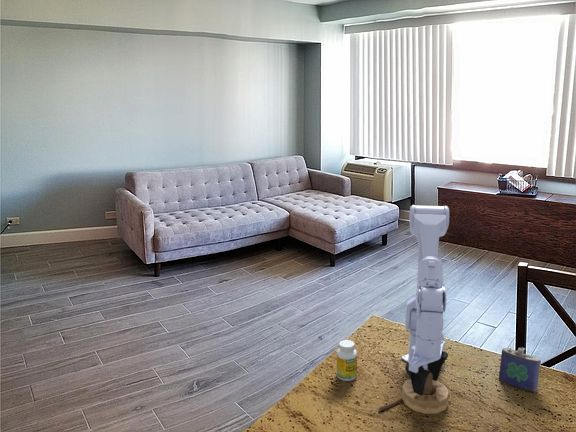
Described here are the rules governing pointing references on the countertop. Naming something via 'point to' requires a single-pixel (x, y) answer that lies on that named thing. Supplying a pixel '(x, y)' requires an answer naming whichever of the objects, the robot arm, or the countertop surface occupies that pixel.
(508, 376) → the flask
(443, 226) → the robot arm
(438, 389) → the wooden ring with handle
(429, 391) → the brown rounded cylinder
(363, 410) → the countertop surface
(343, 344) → the supplement bottle
